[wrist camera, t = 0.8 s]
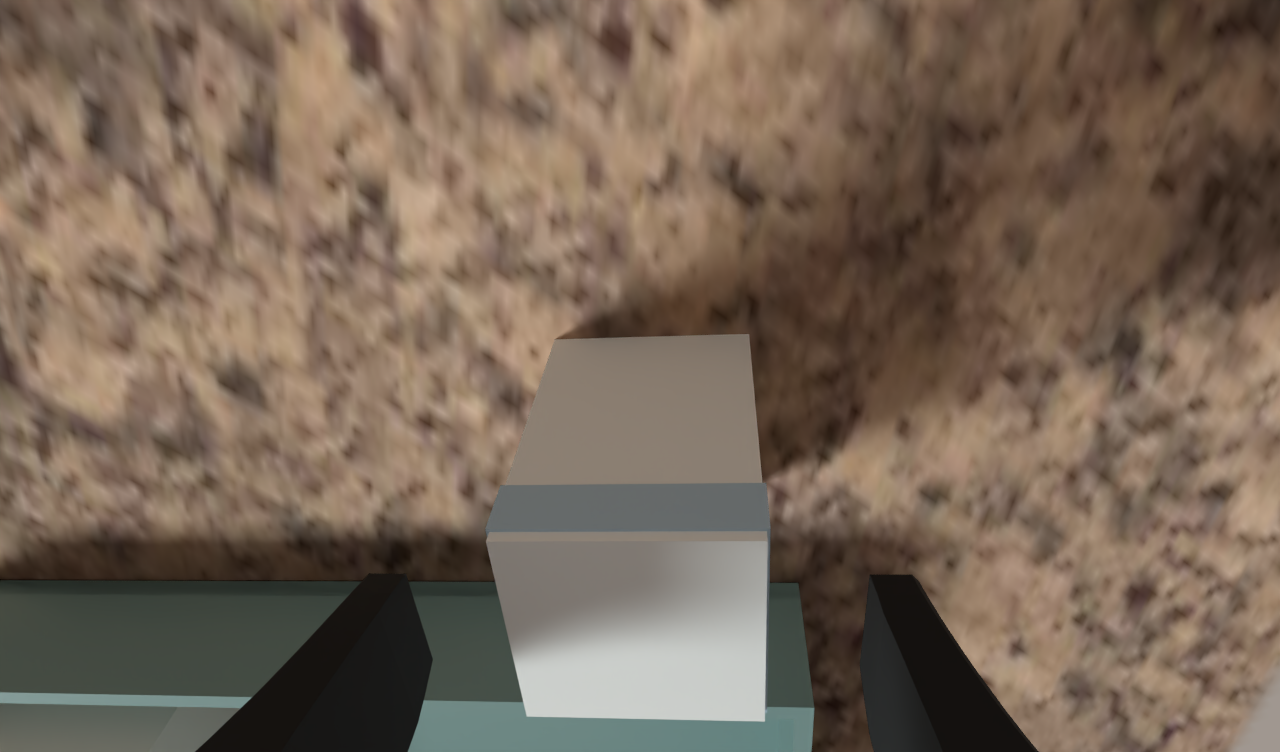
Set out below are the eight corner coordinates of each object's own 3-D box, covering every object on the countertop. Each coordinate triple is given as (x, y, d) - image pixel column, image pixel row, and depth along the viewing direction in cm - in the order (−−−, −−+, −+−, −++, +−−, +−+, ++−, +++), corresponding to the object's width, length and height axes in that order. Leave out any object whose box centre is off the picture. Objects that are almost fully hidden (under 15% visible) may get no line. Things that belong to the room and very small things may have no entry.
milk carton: (751, 489, 18) (767, 723, 13) (575, 490, 19) (524, 718, 13) (751, 331, 16) (771, 538, 11) (552, 336, 16) (482, 539, 11)
